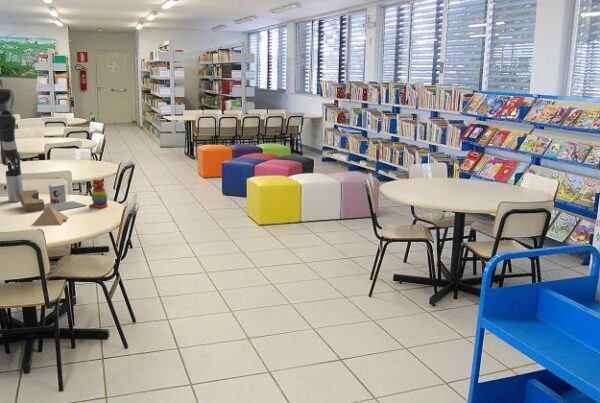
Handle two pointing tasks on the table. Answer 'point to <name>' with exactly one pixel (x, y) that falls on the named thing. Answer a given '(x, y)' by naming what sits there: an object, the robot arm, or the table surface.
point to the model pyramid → (50, 218)
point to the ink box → (57, 193)
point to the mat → (65, 206)
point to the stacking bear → (98, 195)
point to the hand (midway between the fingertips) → (13, 172)
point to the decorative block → (31, 200)
